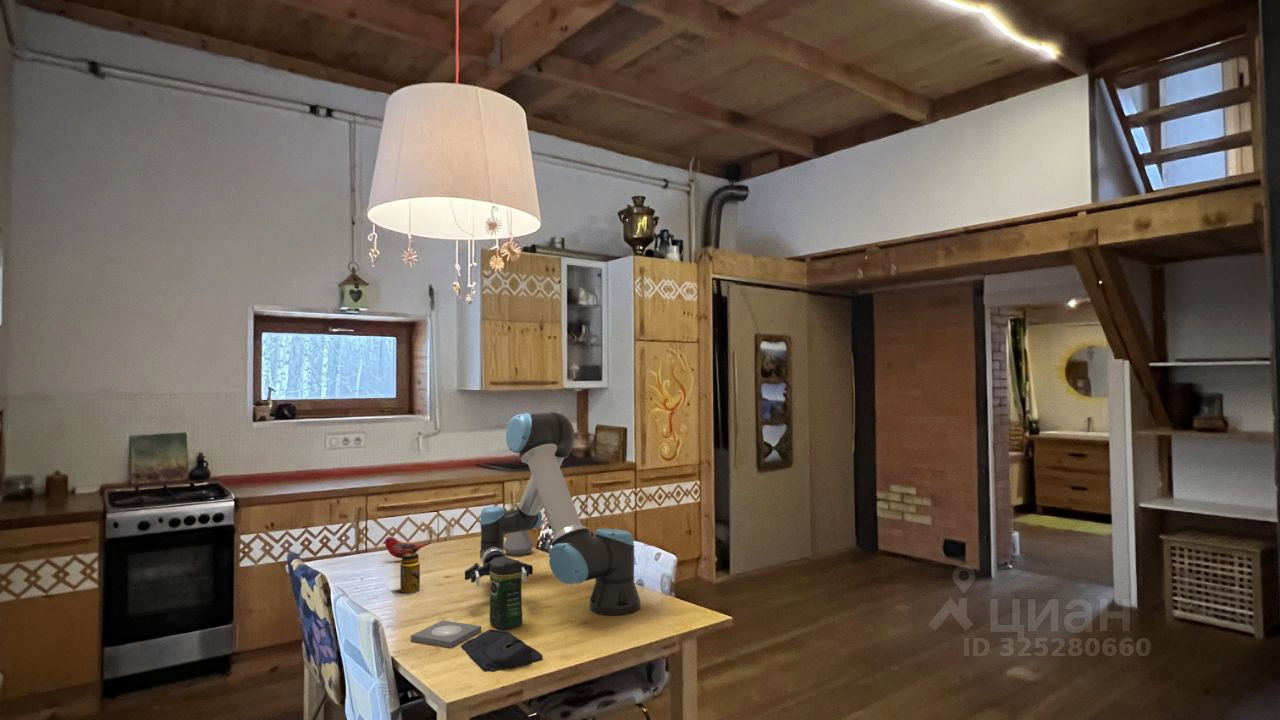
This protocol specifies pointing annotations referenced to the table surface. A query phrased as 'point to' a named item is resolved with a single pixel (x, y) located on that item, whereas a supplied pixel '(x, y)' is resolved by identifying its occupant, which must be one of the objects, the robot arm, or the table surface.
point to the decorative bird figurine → (401, 547)
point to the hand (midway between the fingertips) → (501, 579)
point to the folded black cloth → (499, 651)
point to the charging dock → (446, 633)
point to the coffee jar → (505, 592)
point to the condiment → (409, 575)
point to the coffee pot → (518, 543)
